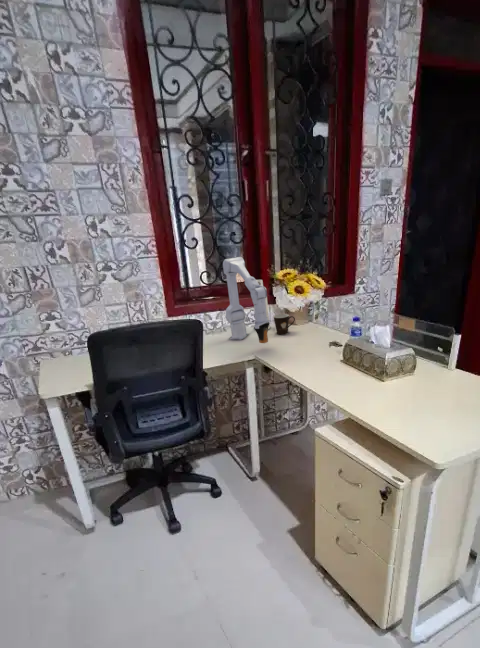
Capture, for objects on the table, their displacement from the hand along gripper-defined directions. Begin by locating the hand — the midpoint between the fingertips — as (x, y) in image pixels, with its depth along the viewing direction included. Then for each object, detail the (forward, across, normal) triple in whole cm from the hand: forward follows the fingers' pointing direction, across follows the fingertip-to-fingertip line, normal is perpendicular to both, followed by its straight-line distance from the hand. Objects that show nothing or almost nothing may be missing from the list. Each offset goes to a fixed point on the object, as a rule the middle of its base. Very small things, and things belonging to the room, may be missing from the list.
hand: (263, 338), depth 214 cm
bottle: (+6, +35, +13) cm, 38 cm away
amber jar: (+2, 0, 0) cm, 2 cm away
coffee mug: (+6, +27, -3) cm, 28 cm away
